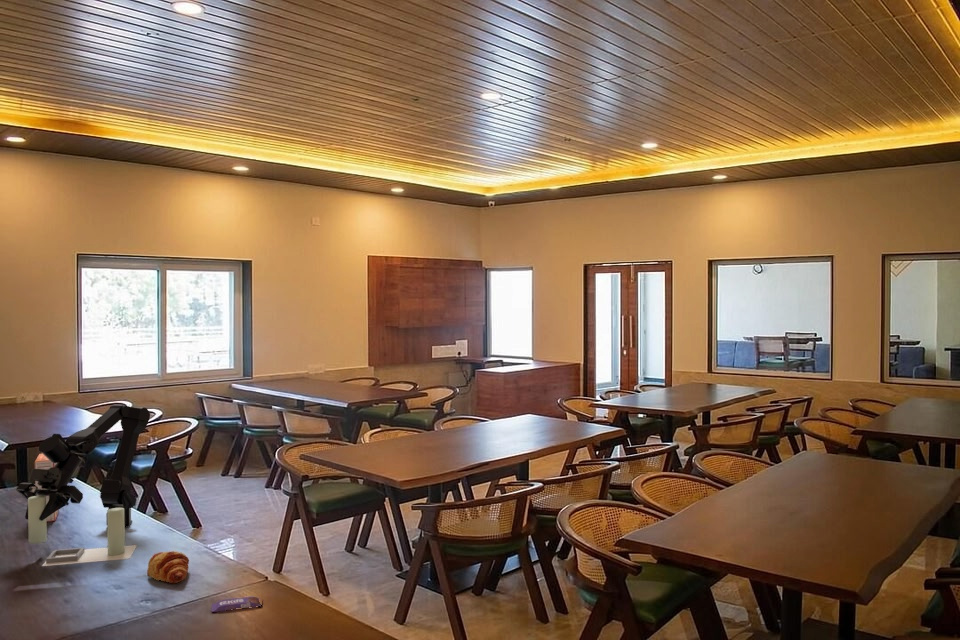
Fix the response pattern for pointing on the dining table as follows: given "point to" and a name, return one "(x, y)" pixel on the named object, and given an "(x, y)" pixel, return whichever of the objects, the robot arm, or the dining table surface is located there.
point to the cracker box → (40, 463)
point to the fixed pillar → (115, 531)
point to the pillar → (36, 519)
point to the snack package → (235, 604)
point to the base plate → (85, 555)
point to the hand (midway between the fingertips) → (33, 519)
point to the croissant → (168, 566)
